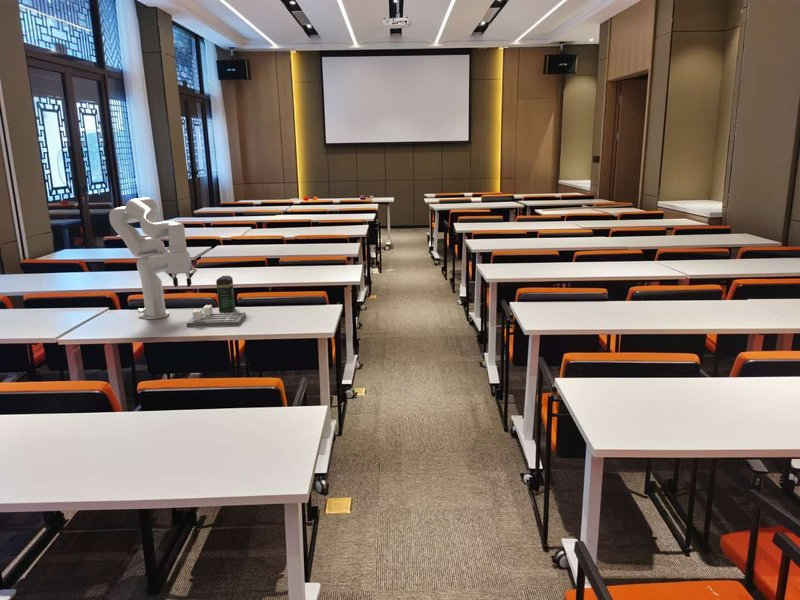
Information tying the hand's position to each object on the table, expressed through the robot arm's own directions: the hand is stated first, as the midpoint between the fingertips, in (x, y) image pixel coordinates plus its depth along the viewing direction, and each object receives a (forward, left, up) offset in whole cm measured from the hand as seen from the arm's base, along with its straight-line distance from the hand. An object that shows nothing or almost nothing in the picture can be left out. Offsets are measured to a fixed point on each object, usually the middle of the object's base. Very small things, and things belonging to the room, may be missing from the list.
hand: (182, 285), depth 282 cm
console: (+14, +3, -19) cm, 24 cm away
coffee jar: (+14, +22, -20) cm, 33 cm away
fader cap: (+6, 0, -17) cm, 17 cm away
